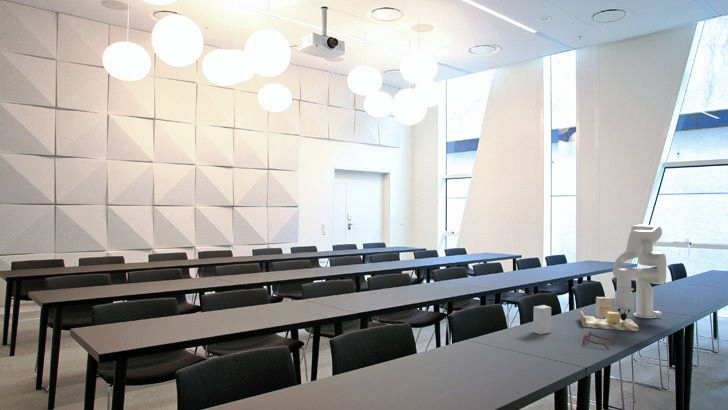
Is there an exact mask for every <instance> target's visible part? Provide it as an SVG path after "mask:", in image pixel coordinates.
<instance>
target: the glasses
mask: <svg viewBox="0 0 728 410" xmlns="http://www.w3.org/2000/svg"><path fill="white" fill-rule="evenodd" d="M591 336H593V337H594V338H595V337H596V338H598V339H601V340H608V341H610V342H611V343H612V344H613V345H616V342H614V341H613V340H612V339H611V338H606V337H602V336H598V335H596V334H593V333H592V332H591V331H589V333H588V334H585V335H584V336H583V339H582V344H583V345H584V344H585V343H586V342H588V343H592V344H595V345H601V346H604V347H605V348H606V349H607V350H610V348H609V346H607V345H606V344H605V343H600V342H595V341H592V340H590V339H591Z"/></svg>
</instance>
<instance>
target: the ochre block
mask: <svg viewBox="0 0 728 410" xmlns="http://www.w3.org/2000/svg"><path fill="white" fill-rule="evenodd" d="M620 318H621V313H620V312H619V311H612V312H607V320H608V322H615V323H620Z"/></svg>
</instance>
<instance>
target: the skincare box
mask: <svg viewBox="0 0 728 410" xmlns="http://www.w3.org/2000/svg"><path fill="white" fill-rule="evenodd" d="M532 309H533V310H532V311H533V320H532V321H533V325H532V326H533V328H532V329H533V331H532V332H533V333H536V334H538V335H543V334H544V335H545V334H550V333H552V307H551V306H548V305H546V304H541V305H536V306H533V308H532Z"/></svg>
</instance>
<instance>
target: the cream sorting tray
mask: <svg viewBox="0 0 728 410" xmlns="http://www.w3.org/2000/svg"><path fill="white" fill-rule="evenodd" d="M579 320H580V322H581V324H582V326H583V328H591V327H592V329H593V328H594V329H607V330H619V331H631V332H632V331H634V332H639V329H640V327H639V325H638V324H637V323H636V322H635V321H634V320H633V319H632V318H627V319H626V321H623V320H622V319H621V317H620V323H615V322H608V320H607V317H596V315H594V316H593V315H585V314H584V312H583V310H579Z"/></svg>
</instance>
